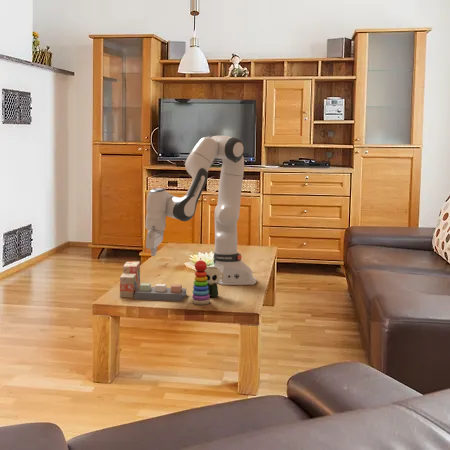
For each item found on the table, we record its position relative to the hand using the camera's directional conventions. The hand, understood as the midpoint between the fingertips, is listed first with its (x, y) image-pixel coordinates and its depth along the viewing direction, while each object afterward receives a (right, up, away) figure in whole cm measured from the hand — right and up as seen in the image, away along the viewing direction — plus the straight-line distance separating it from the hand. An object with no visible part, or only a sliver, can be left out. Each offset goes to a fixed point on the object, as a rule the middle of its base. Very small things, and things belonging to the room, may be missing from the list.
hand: (153, 255), depth 302 cm
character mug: (+26, -19, +1) cm, 32 cm away
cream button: (+3, -16, -2) cm, 16 cm away
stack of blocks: (-12, -17, +7) cm, 22 cm away
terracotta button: (+10, -16, -3) cm, 19 cm away
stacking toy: (+21, -20, -10) cm, 31 cm away
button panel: (+3, -18, -2) cm, 19 cm away
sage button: (-4, -16, -1) cm, 16 cm away
